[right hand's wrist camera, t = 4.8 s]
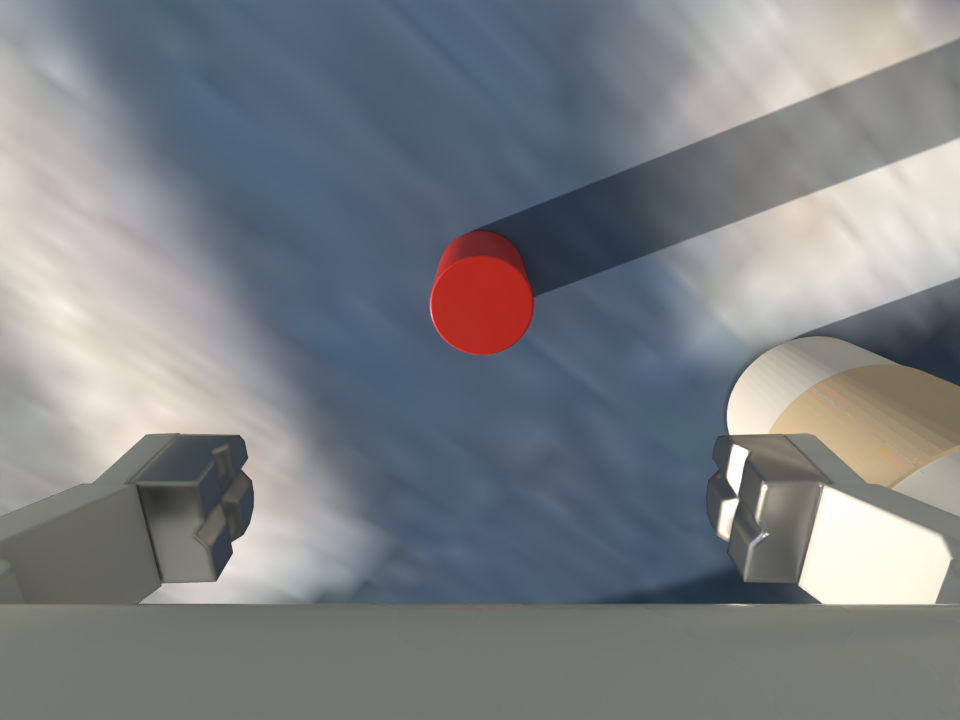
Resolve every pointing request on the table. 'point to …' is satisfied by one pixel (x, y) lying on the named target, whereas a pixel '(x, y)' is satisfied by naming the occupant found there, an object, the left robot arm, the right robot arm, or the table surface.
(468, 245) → the canister
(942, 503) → the coffee cup
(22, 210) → the table surface
